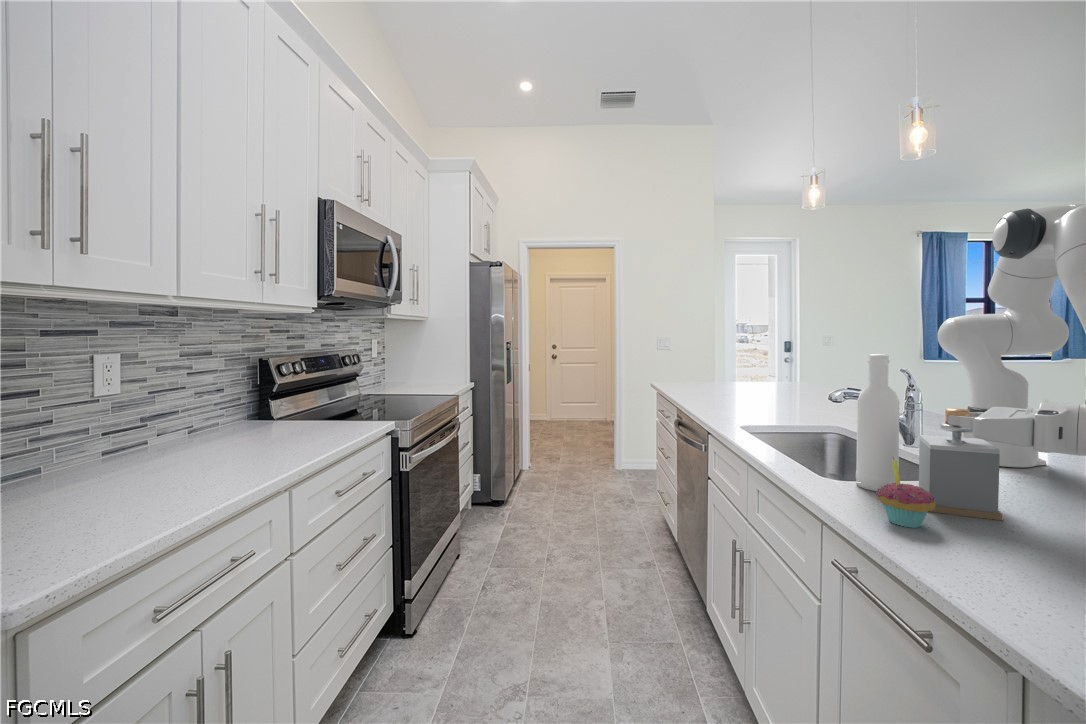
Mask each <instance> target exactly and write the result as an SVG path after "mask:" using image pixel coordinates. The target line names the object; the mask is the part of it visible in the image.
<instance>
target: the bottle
mask: <svg viewBox="0 0 1086 724" xmlns="http://www.w3.org/2000/svg"><path fill="white" fill-rule="evenodd" d="M867 363H868V385H867V386H866V387H864V388H863V389H862V390H861V391H860V393H859V395H858V397H857V401H856V463H855V464H856V466H855V467H856V471H855V480H856V481H855V484H856V485H857V486H858V487H859V488H862V489H864V490H867V491H872V492H878V489H881V486H882V487H883V486H884V485H887V484H892V483H893V484H894V483H896V480H895V474H894V468H893V463H892V461H893V457H894V460H895V461H897V466H898V472H899V469H900V468H899V467H900V465H899V463H900V462H899V461H900V457H899V456H900V405H901V403H900V399H899V397H898V394H897V392H896V391H895V390H894V389H893V388H891V387H890V386H889V363H890V359H889V355H888V354H883V353H877V354H876V353H875V354H873V353H870V354H869V355H868V360H867ZM892 456H893V457H892ZM856 482H861V483H856Z"/></svg>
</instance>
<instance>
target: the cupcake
mask: <svg viewBox="0 0 1086 724" xmlns="http://www.w3.org/2000/svg"><path fill="white" fill-rule="evenodd" d="M892 457H893V456H892ZM892 463H893V468H894V474H895V480H896V483H894V484H893V483H892V484H887V485H884V486H883V487H882V486H881V489H878V491H876V497H877V500H878V501H880V503H881V504H882V506H883V507H884V508H883V509H885V513H886V516H887V520H888V522H890V523H891V522H892V524H893V523H894V524H893V525H896V524H897V526H899V525H900V527H903V526H904V528H911V529H914V528H921V527H922V525H923V523H924V519H925V518H926V516H927V514H928V513H929V511H933V510H934V509H935V507H936V503H935V500H934V497H933V495H931V494H930V492H929V493H928V492H927V491H926V490H924V489H923V488H919V485H913V484H910V483H901V478H900V473H899V472H898V466H897V461H895V460H894V457H893V461H892Z"/></svg>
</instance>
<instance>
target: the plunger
mask: <svg viewBox="0 0 1086 724" xmlns="http://www.w3.org/2000/svg"><path fill="white" fill-rule="evenodd" d="M967 409H968V408H967ZM967 409H966V408H958V407H957V408H955V407H953V408H950V407H949V408H945V414H944V415H945V418H944V419H945V420H944V422H940V423H939V429H940V430H941V431H946V432H952V434H951V437H952V443H960V444H961V443H962V432H973V429H970V428H966V427H962V426H956V425H949V424H948V416H950V415H959V416H965V417H970V410H967Z"/></svg>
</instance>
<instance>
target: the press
mask: <svg viewBox="0 0 1086 724" xmlns="http://www.w3.org/2000/svg"><path fill="white" fill-rule="evenodd" d="M918 448H919V452H918V454H919V455H918V456H919V457H918V459H919V460H918V461H919V462H918V487H919V488H923V489H924V490H926V491H927V492H928V493H929V492H930V494H931V495H933V497H934V500H935V503H936V507H935V509H934V510H933V511H928V513H929V512H930V513H936V514H937V513H938V514H944V515H945V514H947V515H955V516H961V517H969V516H970V517H971V518H976V519H977V518H978V519H985V518H986V519H987V520H992V519H995V520H994V521H1000V520H1001V521H1003V519H1004V515H1003V513H1002V512H1001V511H1000V510H999V494H1000V493H999V491H1000V487H999V486H1000V466H999V460H1000V450H999V449H998V448H996V447H994V446H993V445H991V444H990V443H988V442H986V441H985V440H983V439H974V438H962V443H961V444H960V443H952V436H939V435H925V434H923V435H922V434H919V447H918ZM986 519H985V520H986Z"/></svg>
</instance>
